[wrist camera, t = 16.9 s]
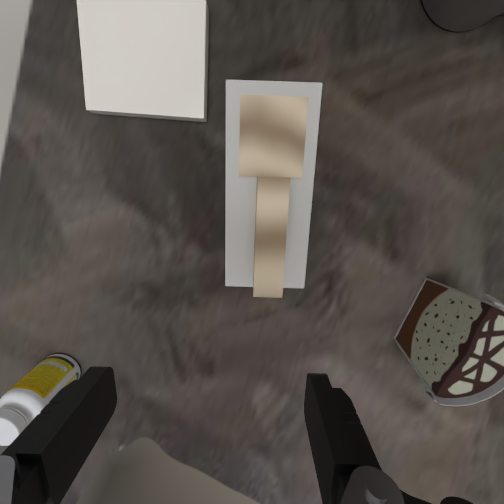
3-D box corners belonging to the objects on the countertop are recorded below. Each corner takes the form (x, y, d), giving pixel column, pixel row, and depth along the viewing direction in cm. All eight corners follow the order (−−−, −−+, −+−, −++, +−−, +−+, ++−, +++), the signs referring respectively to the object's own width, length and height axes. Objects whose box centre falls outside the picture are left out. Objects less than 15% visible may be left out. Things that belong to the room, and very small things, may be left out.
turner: (293, 277, 33) (301, 298, 28) (237, 275, 33) (233, 296, 28) (307, 99, 28) (321, 78, 22) (240, 96, 28) (237, 75, 22)
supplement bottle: (37, 355, 37) (-36, 415, 28) (73, 349, 37) (12, 408, 27) (52, 386, 38) (-12, 454, 29) (87, 381, 38) (34, 447, 29)
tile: (207, 122, 29) (209, 14, 27) (203, 118, 27) (206, 0, 25) (98, 114, 29) (89, 4, 27) (86, 109, 27) (75, -11, 24)
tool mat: (321, 84, 28) (322, 82, 28) (303, 287, 34) (304, 288, 34) (226, 80, 28) (225, 79, 27) (225, 284, 34) (225, 286, 34)
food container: (428, 359, 37) (490, 423, 27) (388, 347, 37) (436, 408, 27) (474, 280, 34) (562, 321, 24) (430, 266, 33) (503, 302, 24)
